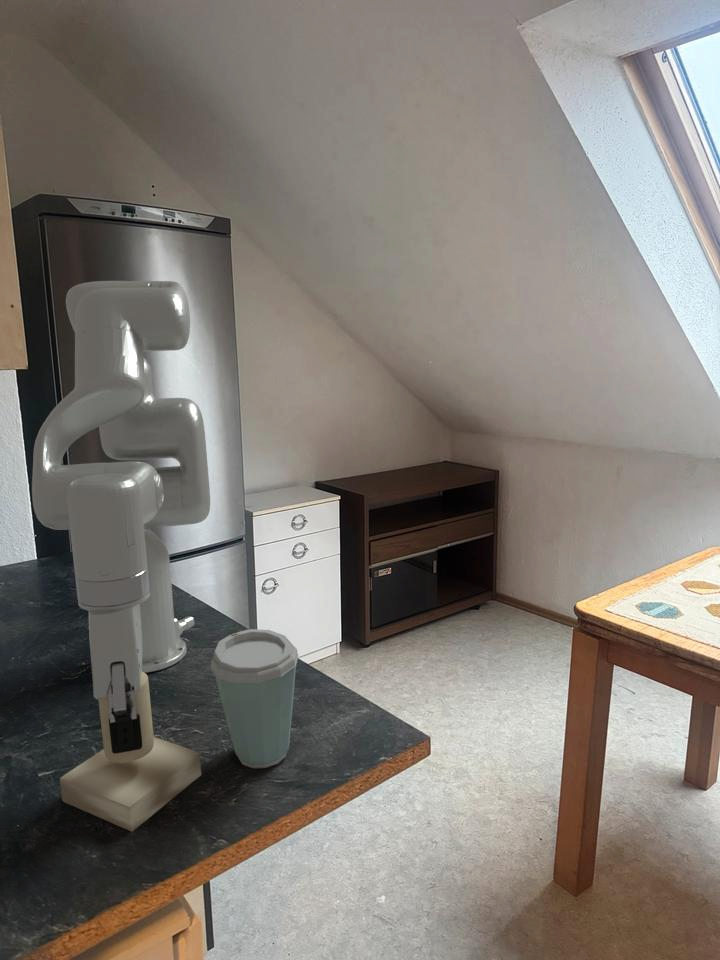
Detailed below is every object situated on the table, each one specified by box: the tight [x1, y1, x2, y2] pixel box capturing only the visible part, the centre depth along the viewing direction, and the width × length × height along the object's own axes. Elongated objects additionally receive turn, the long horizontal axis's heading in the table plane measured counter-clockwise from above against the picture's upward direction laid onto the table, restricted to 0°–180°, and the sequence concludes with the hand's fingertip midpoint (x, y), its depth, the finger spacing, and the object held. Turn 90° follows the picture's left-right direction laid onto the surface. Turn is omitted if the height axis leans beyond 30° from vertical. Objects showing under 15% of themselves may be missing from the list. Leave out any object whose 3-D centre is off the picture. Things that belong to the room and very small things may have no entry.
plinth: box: [59, 736, 202, 833], centre depth 81 cm, size 11×11×3 cm
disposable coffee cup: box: [210, 628, 299, 769], centre depth 86 cm, size 11×11×15 cm
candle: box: [98, 665, 155, 763], centre depth 80 cm, size 6×6×10 cm
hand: (128, 733), depth 80 cm, fingers closed on candle, 5 cm apart
